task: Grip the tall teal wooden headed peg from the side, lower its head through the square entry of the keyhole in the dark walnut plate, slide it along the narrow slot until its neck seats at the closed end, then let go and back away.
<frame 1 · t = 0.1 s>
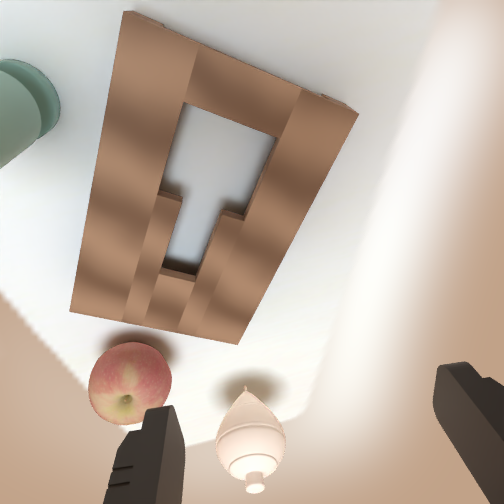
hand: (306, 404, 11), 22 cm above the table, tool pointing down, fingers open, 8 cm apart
headed peg: (21, 99, 26), on the table
keyhole plate: (197, 206, 32), on the table
spinning top: (244, 384, 46), on the table
apple: (137, 348, 41), on the table
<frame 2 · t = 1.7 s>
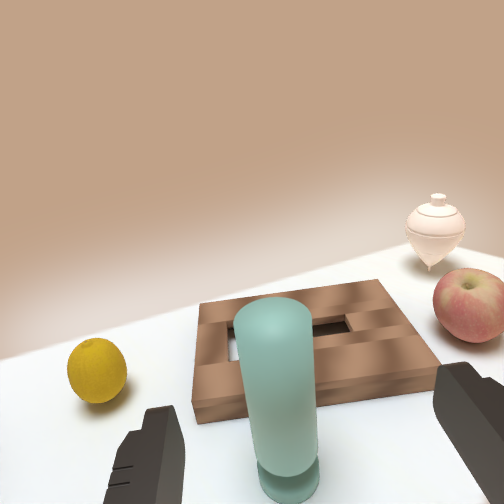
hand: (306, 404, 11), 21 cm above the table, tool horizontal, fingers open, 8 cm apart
headed peg: (288, 472, 30), on the table
keyhole plate: (302, 350, 43), on the table
spinning top: (428, 272, 55), on the table
apple: (464, 335, 43), on the table
lemon: (109, 399, 40), on the table
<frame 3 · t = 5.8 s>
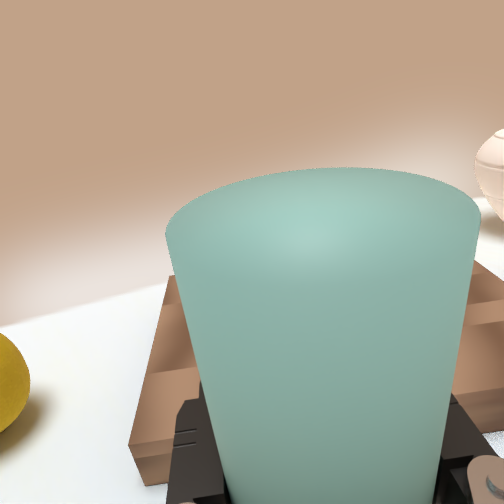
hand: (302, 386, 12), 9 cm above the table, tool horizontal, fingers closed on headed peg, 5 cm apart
keyhole plate: (333, 346, 26), on the table
lemon: (2, 432, 23), on the table
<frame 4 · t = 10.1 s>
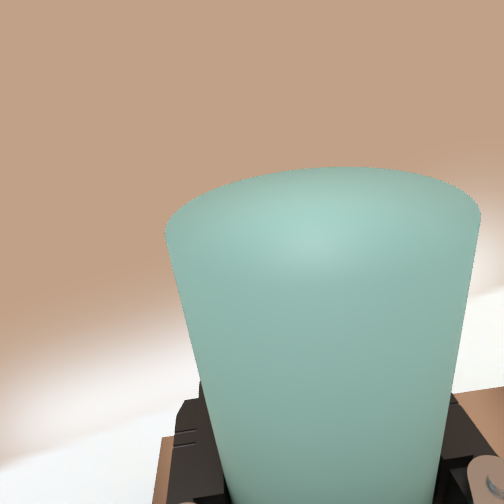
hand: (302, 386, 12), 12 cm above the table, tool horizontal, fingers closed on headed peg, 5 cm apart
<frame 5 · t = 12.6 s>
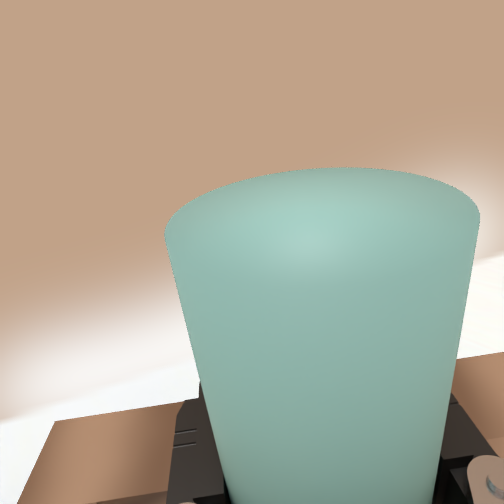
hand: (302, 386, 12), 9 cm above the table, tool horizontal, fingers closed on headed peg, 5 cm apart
when the fingers open (9 cm above the table, at t = 14.4 s): headed peg stays where it is, on the table.
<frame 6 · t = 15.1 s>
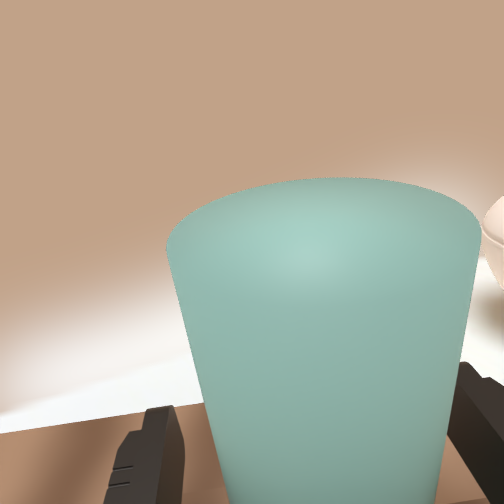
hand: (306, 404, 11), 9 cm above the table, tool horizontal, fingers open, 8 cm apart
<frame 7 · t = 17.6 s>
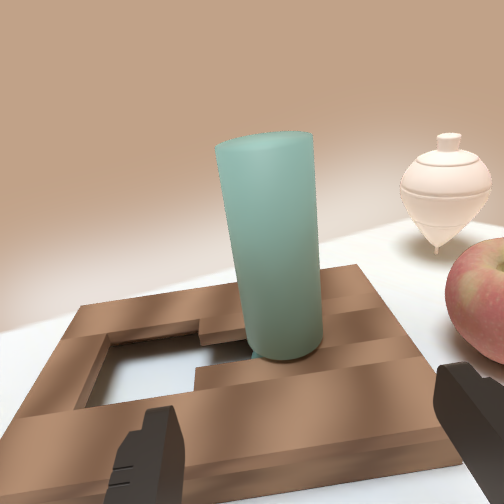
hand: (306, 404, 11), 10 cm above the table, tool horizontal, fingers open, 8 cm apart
headed peg: (289, 373, 26), on the table
keyhole plate: (227, 382, 26), on the table
spinning top: (435, 255, 38), on the table
apple: (500, 353, 25), on the table
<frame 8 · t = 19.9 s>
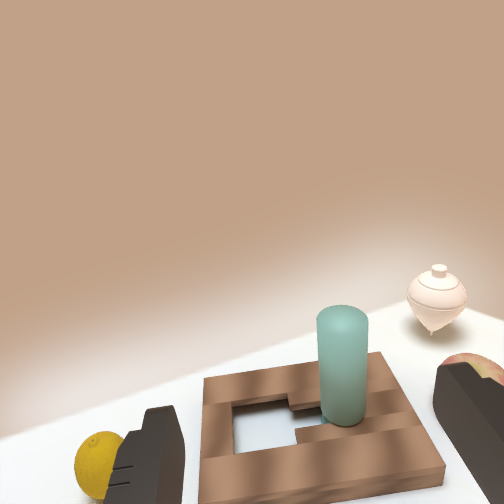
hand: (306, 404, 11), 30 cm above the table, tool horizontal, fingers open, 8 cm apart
headed peg: (343, 427, 43), on the table
keyhole plate: (306, 433, 43), on the table
spinning top: (430, 336, 56), on the table
apple: (467, 417, 43), on the table
lemon: (116, 488, 40), on the table
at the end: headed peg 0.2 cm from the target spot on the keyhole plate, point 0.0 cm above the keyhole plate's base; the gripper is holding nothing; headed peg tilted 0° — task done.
